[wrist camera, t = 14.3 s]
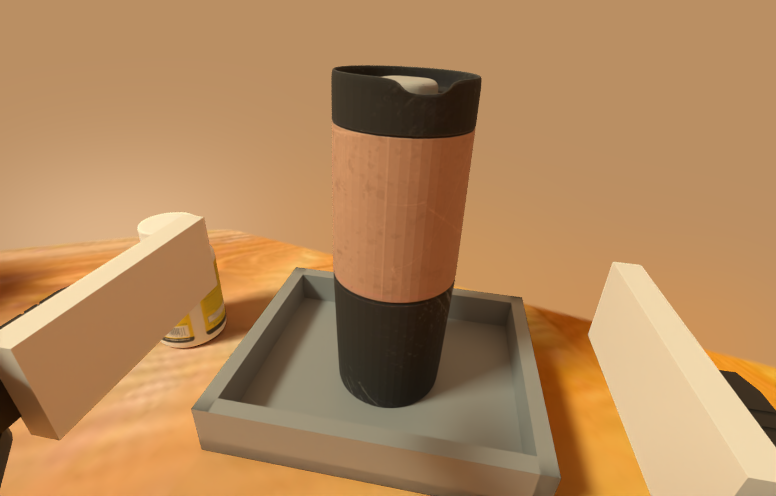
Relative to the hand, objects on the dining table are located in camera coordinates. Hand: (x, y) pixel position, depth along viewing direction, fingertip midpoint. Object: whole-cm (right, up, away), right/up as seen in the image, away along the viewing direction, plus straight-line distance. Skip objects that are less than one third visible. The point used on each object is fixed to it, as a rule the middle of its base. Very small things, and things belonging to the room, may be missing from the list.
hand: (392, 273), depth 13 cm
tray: (0, -9, +17) cm, 19 cm away
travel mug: (0, -8, +16) cm, 18 cm away
